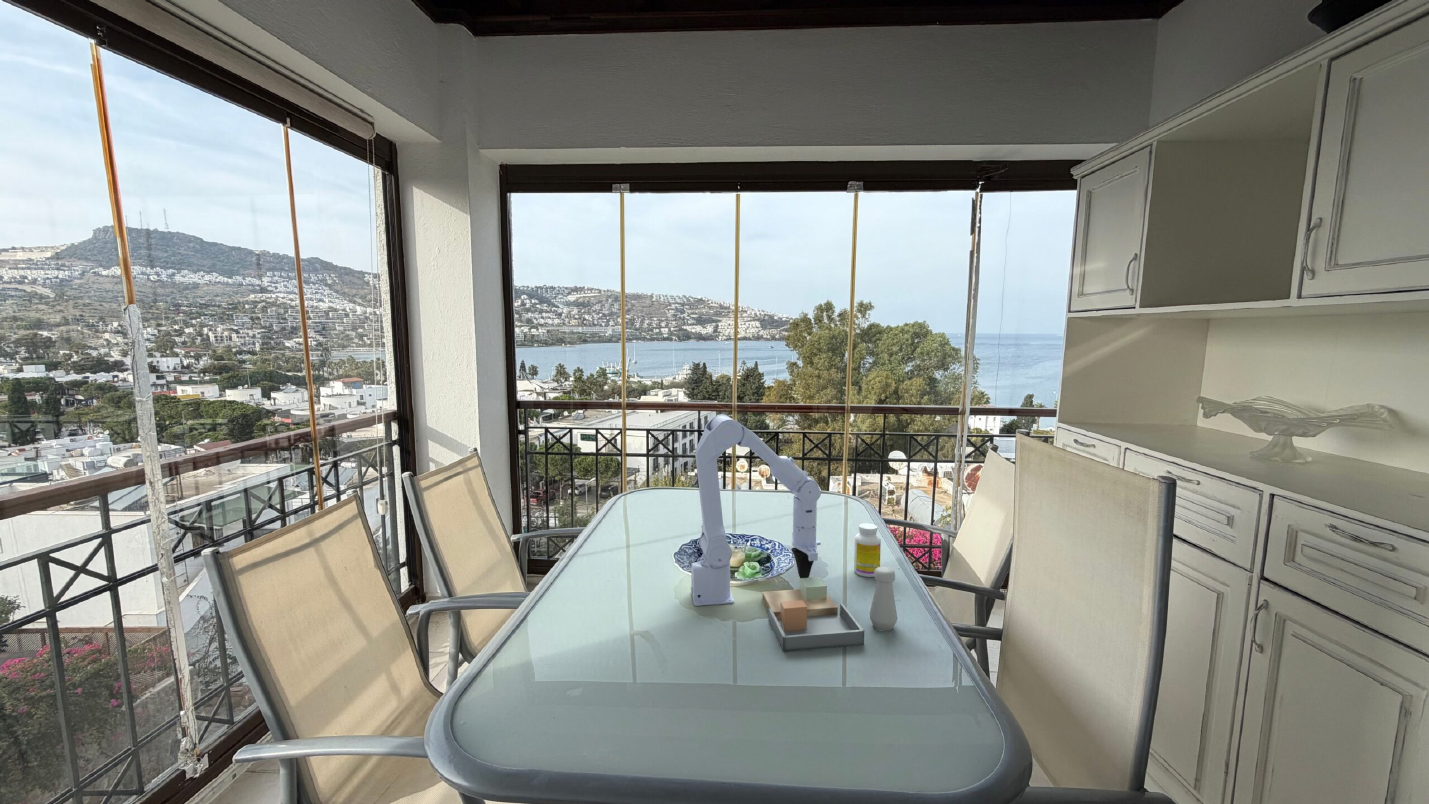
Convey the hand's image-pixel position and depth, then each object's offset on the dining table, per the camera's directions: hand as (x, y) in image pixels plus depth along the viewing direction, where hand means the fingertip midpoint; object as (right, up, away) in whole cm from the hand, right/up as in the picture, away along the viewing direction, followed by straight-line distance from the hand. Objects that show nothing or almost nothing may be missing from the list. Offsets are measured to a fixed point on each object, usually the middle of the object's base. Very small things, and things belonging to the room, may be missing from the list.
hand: (803, 577), depth 139 cm
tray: (-1, -5, -20) cm, 21 cm away
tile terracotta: (-6, -2, -18) cm, 19 cm away
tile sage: (+1, -2, -7) cm, 7 cm away
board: (-3, -4, -9) cm, 11 cm away
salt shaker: (+14, -5, -18) cm, 24 cm away
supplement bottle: (+18, -2, +10) cm, 21 cm away
